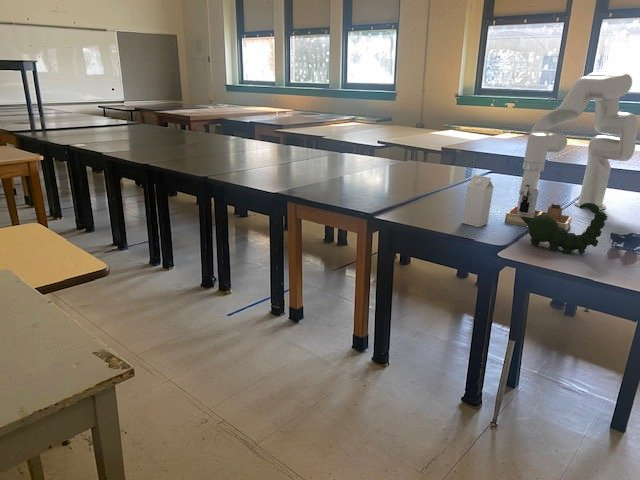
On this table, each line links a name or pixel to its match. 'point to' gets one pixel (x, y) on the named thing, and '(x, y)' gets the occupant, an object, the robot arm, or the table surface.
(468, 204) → the milk carton
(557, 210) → the box
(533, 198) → the supplement box
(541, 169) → the robot arm
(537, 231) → the toy figurine
